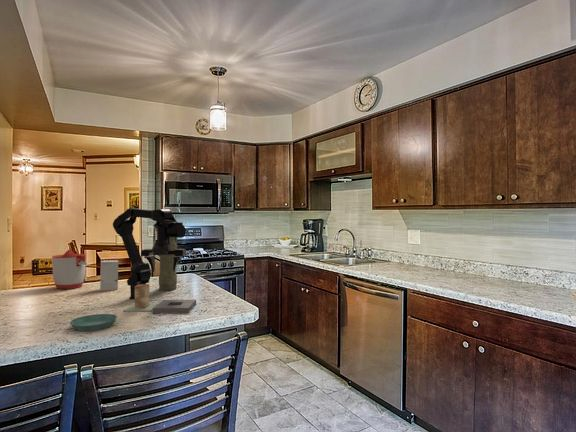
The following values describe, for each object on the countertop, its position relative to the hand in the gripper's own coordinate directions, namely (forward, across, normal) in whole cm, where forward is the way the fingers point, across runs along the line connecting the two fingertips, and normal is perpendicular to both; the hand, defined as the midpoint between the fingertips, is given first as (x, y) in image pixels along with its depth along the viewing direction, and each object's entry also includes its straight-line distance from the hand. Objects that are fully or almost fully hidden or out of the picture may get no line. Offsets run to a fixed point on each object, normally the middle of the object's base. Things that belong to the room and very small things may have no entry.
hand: (163, 271), depth 170 cm
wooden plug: (+12, -4, -14) cm, 19 cm away
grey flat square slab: (+13, +9, -14) cm, 22 cm away
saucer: (+14, -12, -38) cm, 42 cm away
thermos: (+13, -6, +25) cm, 29 cm away
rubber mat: (+13, -5, -14) cm, 19 cm away
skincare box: (+13, -36, +25) cm, 46 cm away
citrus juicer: (+13, -60, +30) cm, 68 cm away
